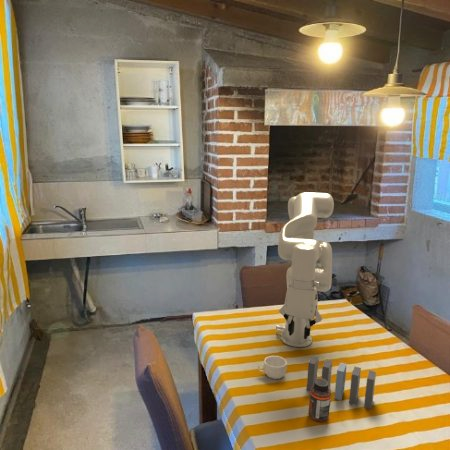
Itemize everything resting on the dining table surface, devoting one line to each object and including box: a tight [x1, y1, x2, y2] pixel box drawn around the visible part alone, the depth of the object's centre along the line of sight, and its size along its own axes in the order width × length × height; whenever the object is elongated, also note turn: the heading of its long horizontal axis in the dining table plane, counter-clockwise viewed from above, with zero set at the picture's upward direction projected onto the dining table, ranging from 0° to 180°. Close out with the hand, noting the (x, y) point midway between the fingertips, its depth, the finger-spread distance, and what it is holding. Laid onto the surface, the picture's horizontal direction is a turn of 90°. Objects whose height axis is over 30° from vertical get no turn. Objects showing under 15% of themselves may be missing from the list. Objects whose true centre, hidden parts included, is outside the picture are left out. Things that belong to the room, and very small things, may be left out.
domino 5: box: [363, 370, 377, 410], centre depth 125 cm, size 2×5×10 cm, turn 153°
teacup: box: [257, 355, 288, 380], centre depth 140 cm, size 10×8×5 cm
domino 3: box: [334, 362, 348, 401], centre depth 129 cm, size 2×5×10 cm, turn 153°
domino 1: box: [306, 355, 320, 392], centre depth 133 cm, size 2×5×10 cm, turn 153°
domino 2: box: [321, 358, 333, 388], centre depth 131 cm, size 2×5×10 cm, turn 153°
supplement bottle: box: [308, 377, 332, 423], centre depth 119 cm, size 6×6×11 cm
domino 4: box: [348, 366, 362, 406], centre depth 127 cm, size 2×5×10 cm, turn 153°
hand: (298, 335), depth 133 cm, fingers open, 4 cm apart
